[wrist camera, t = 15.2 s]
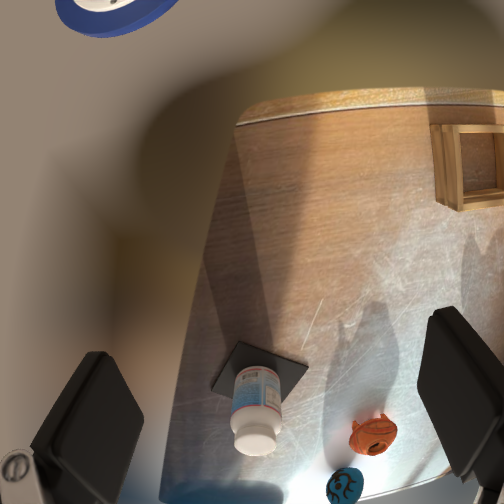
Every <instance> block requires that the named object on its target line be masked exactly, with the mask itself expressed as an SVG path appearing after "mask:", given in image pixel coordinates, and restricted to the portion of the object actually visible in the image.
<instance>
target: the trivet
mask: <svg viewBox="0 0 504 504" xmlns="http://www.w3.org/2000/svg"><path fill="white" fill-rule="evenodd" d="M252 366H263V367H267V368H269V369H271V370H273V371H274V372H275V373H276V374H277V375H278V377H279V380H280V394H281V403H282V402H283V401H284V400H285V398H286V397H287V396H288V394H289V393H290V392H291V391H292V389H293V388H294V387H295V385H296V384H297V383H298V381H299V380H300V379H301V377H302V376H303V375H304V373H305V372H306V371H307V369H308V368H309V366H306V365H303V364H300V363H297V362H294V361H292V360H289V359H286V358H283V357H280V356H278V355H275V354H272V353H269V352H267V351H264V350H261V349H259V348H256V347H253V346H251V345H248V344H246V343H243V342H240V341H239V342H238V343H237V345H236V347H235V349H234V351H233V352H232V354H231V356H230V358H229V360H228V361H227V363H226V365H225V367H224V368H223V370H222V372H221V374H220V376H219V377H218V379H217V381H216V383H215V384H214V386H213V388H212V390H211V391H212V392H215V393H217V394H220V395H223V396H226V397H229V398H232V399H233V395H234V387H235V380H236V377H237V375H238V374H239V373H240V372H241V371H242V370H243V369H245V368H248V367H252Z"/></svg>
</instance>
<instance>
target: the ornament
mask: <svg viewBox="0 0 504 504" xmlns="http://www.w3.org/2000/svg"><path fill="white" fill-rule="evenodd" d="M363 485H364V479H363V475H362V473H361V471H360V470H358V469H357V468H350V467H349V468H344V469H342V470H338V471H336V472H335V473H334V474H333V475H332V477H331V478H330V479H329V481H328V483H327V486H326V494H327V495H326V496H327V497H328V500H329V502H330V503H331V504H355V503H356V502H357V501H358V499H359V498H360V496H361V494H362V491H363Z"/></svg>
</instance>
